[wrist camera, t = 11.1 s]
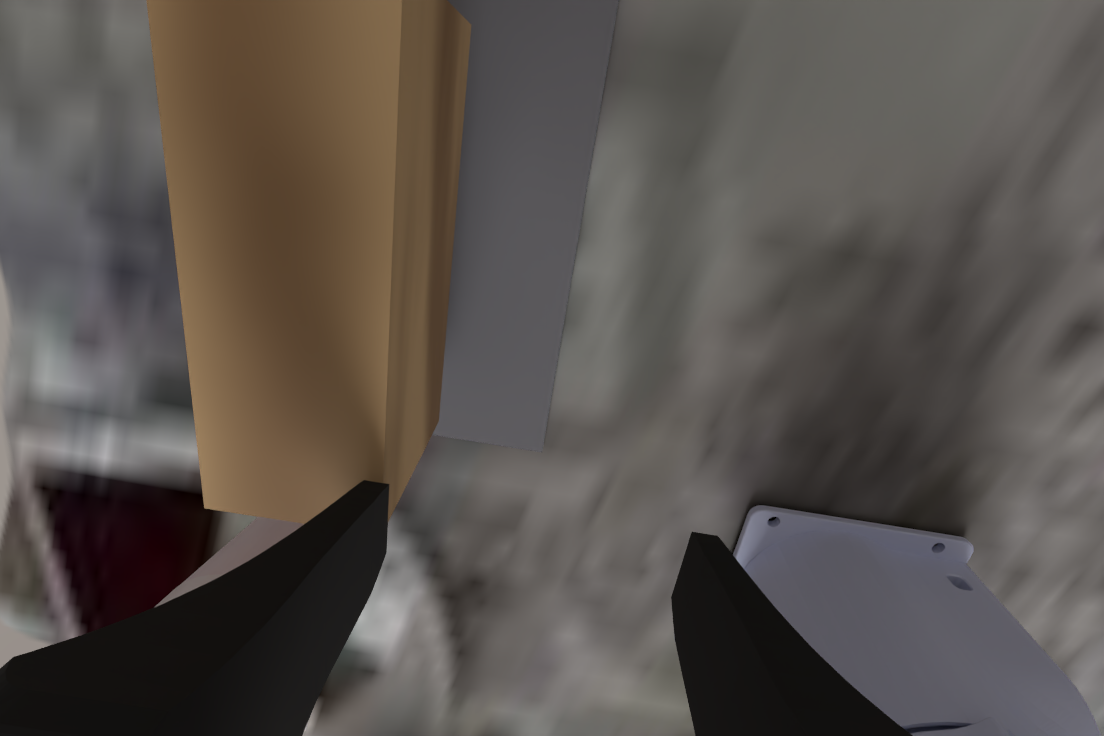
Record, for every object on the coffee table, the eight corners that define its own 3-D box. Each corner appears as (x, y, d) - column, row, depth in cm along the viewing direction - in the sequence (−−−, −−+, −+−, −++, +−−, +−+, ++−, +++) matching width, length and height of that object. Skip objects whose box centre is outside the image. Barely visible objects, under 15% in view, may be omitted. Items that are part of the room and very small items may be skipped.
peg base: (619, -8, 17) (627, -37, 14) (543, 446, 23) (537, 488, 20) (224, -75, 17) (152, -118, 14) (254, 400, 23) (209, 436, 20)
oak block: (471, 25, 15) (403, -45, 9) (438, 421, 19) (380, 535, 14) (306, -3, 15) (135, -90, 9) (313, 401, 19) (204, 508, 14)
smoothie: (257, 434, 23) (-144, 800, 10) (406, 465, 24) (194, 861, 11) (257, 551, 26) (-68, 963, 13) (392, 578, 26) (205, 1010, 13)
